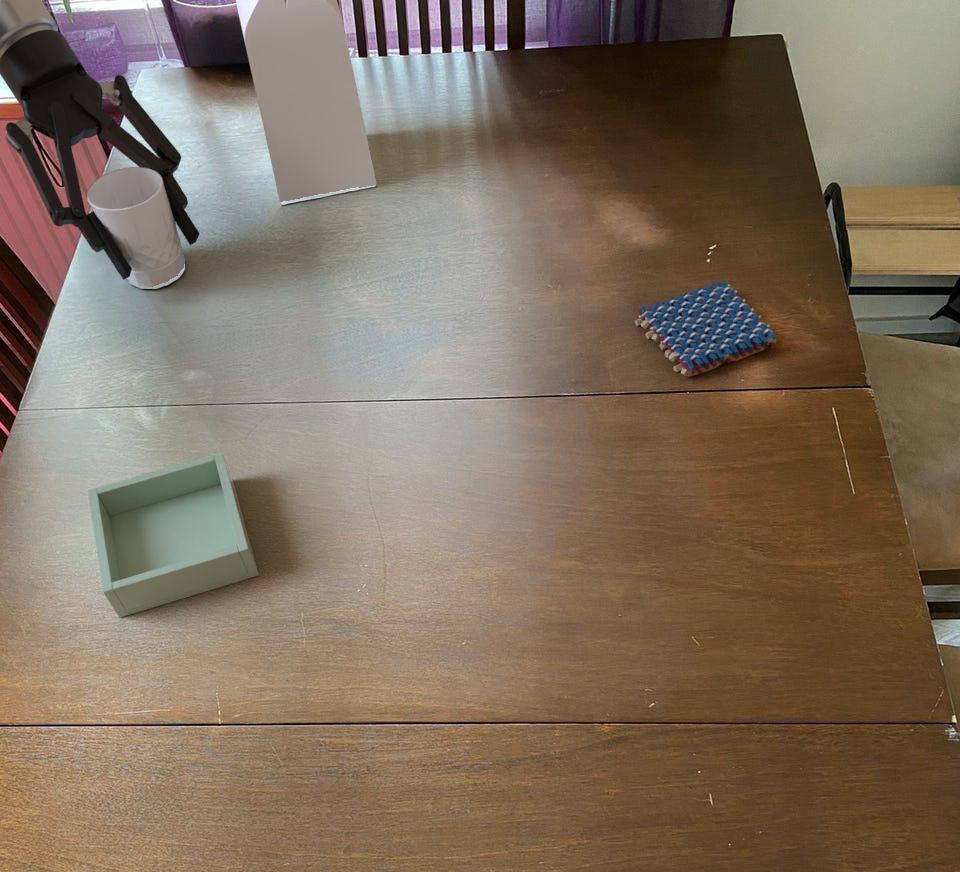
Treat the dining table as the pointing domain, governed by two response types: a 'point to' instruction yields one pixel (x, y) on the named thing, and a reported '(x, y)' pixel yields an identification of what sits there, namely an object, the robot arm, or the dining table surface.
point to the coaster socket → (170, 535)
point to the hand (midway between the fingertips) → (161, 256)
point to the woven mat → (706, 329)
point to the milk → (306, 96)
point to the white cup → (139, 223)
